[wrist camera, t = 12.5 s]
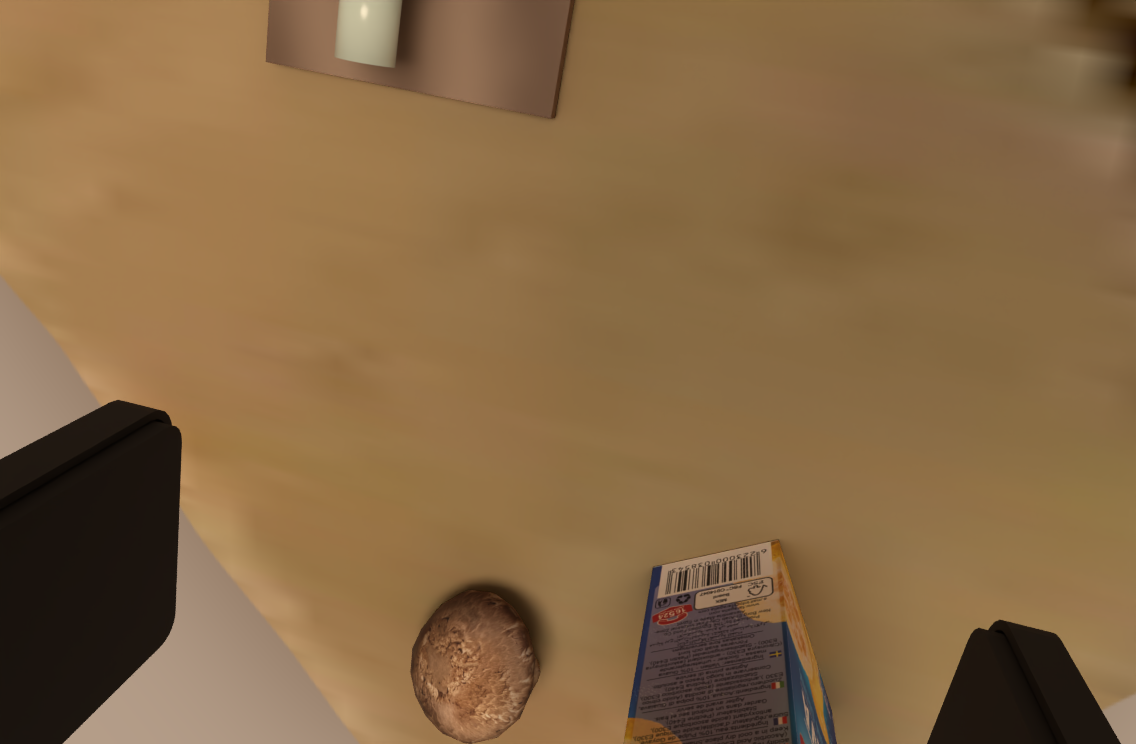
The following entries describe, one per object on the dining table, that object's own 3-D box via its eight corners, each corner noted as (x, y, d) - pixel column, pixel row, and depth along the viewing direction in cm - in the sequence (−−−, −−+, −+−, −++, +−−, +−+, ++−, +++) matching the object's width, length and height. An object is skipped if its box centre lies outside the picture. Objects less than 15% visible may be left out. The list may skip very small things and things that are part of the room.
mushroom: (578, 731, 49) (498, 757, 44) (476, 725, 54) (393, 749, 49) (564, 580, 50) (485, 590, 46) (466, 588, 55) (385, 598, 51)
